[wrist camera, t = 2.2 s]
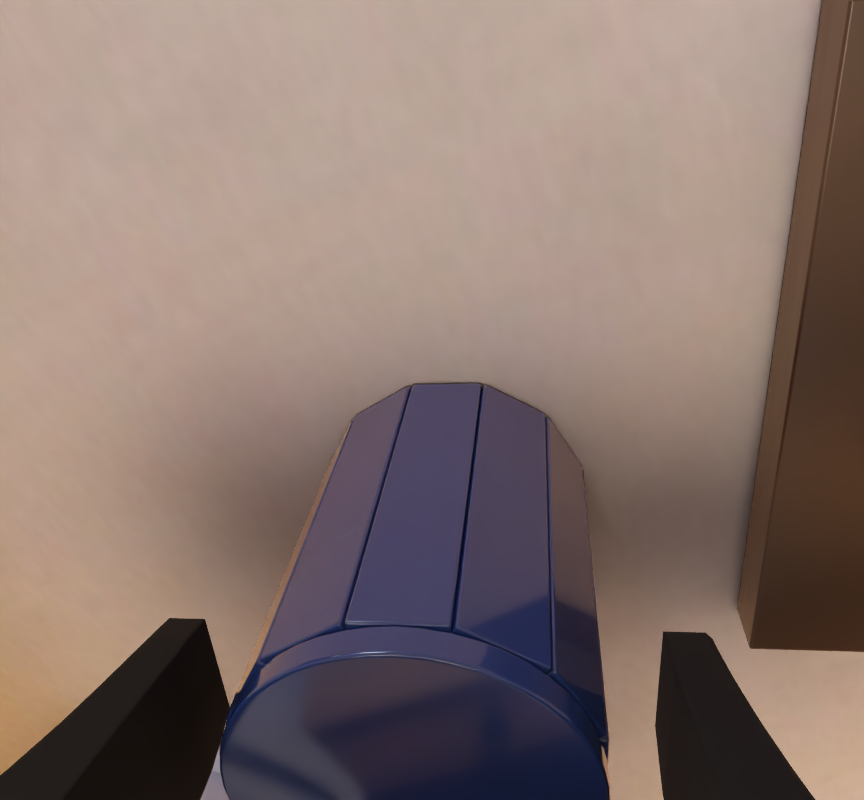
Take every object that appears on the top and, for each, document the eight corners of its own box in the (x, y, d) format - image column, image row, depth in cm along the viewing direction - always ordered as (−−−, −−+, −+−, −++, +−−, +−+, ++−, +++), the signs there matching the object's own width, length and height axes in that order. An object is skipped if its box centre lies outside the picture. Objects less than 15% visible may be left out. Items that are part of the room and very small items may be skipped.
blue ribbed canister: (580, 593, 18) (605, 924, 12) (347, 588, 18) (255, 897, 12) (584, 381, 15) (618, 660, 9) (314, 384, 16) (178, 647, 10)
